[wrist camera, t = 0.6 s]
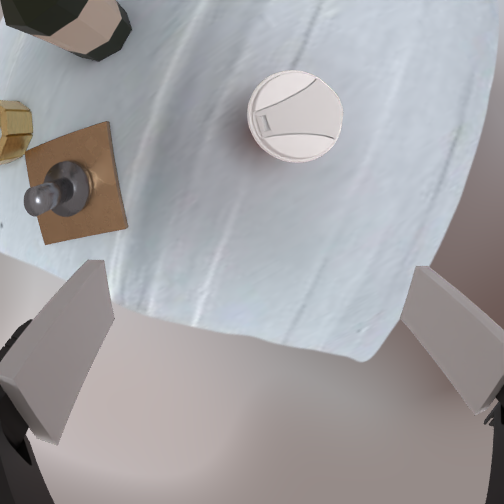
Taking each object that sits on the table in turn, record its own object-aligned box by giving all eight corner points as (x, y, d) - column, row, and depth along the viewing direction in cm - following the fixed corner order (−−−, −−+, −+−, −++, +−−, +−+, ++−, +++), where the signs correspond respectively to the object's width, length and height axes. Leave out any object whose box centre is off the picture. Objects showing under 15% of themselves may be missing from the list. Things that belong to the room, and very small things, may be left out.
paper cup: (251, 162, 34) (266, 176, 21) (232, 103, 31) (235, 79, 18) (311, 145, 34) (360, 150, 21) (294, 87, 31) (333, 59, 18)
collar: (-7, 116, 27) (-32, 117, 21) (30, 94, 27) (5, 91, 21) (-2, 168, 30) (-27, 174, 24) (35, 150, 30) (10, 155, 25)
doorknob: (28, 151, 30) (-14, 159, 21) (109, 121, 31) (73, 118, 22) (48, 242, 35) (13, 269, 26) (128, 226, 36) (100, 253, 27)
